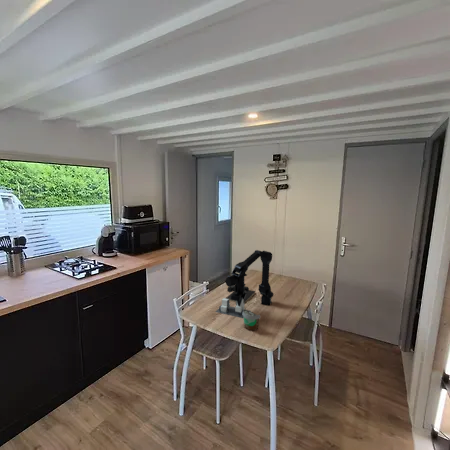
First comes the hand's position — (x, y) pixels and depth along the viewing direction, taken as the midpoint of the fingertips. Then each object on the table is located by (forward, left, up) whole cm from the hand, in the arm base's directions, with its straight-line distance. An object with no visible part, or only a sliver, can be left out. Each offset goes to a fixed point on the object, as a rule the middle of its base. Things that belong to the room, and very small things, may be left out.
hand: (240, 304), depth 174 cm
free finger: (0, 0, -4) cm, 4 cm away
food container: (-12, +15, -6) cm, 20 cm away
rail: (+5, 0, -6) cm, 8 cm away
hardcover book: (+10, -26, -7) cm, 29 cm away
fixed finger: (+11, 0, -6) cm, 12 cm away
